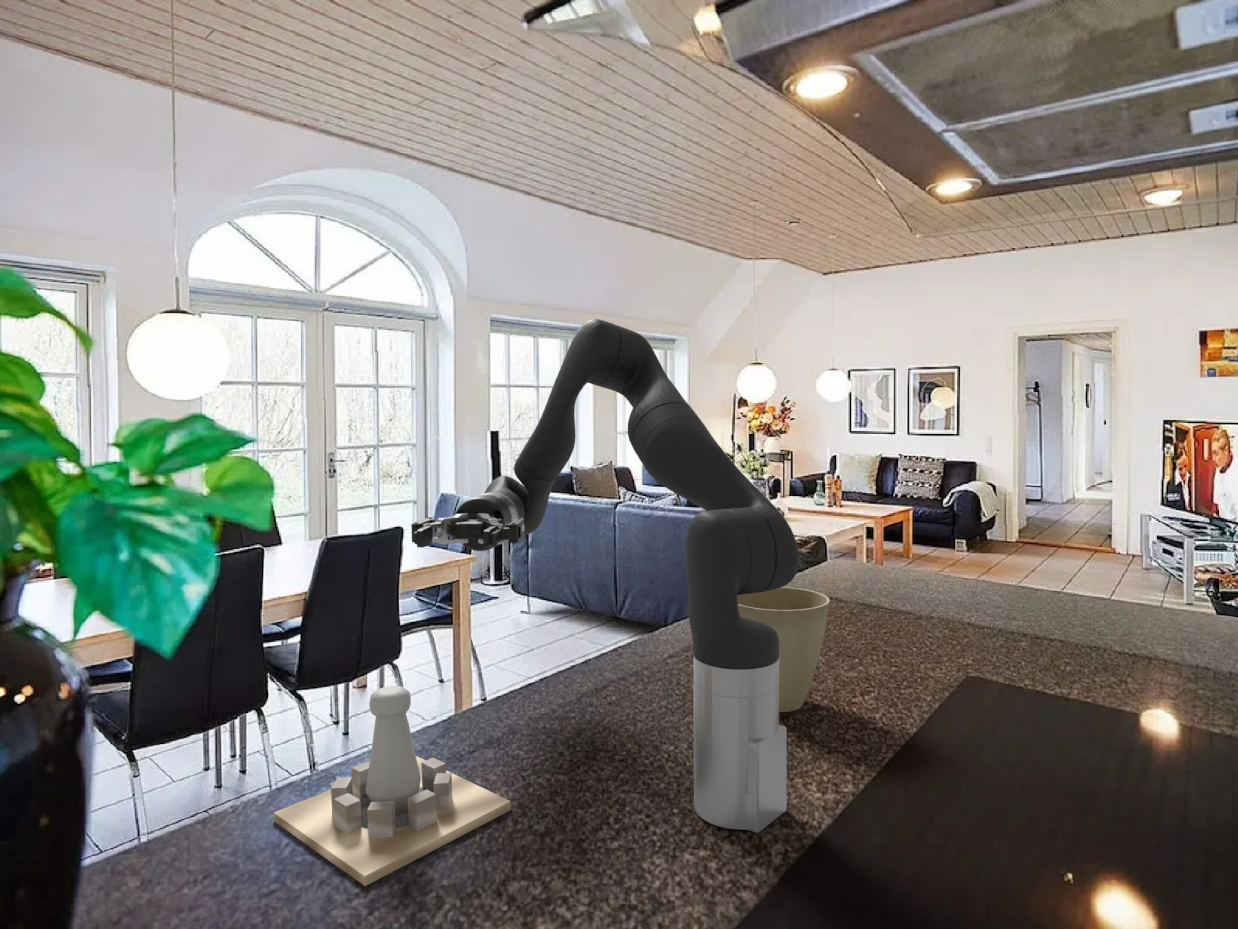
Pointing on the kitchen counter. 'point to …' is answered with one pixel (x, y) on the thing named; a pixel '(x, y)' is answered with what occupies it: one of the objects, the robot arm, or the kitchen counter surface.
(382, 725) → the salt shaker
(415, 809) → the stonehenge model
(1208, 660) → the kitchen counter surface
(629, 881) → the kitchen counter surface
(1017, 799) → the kitchen counter surface
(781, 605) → the plant pot
